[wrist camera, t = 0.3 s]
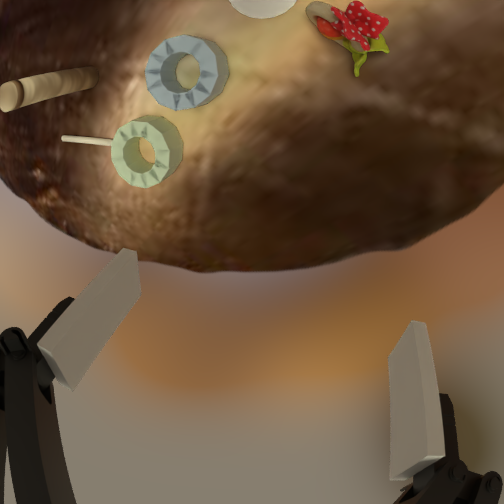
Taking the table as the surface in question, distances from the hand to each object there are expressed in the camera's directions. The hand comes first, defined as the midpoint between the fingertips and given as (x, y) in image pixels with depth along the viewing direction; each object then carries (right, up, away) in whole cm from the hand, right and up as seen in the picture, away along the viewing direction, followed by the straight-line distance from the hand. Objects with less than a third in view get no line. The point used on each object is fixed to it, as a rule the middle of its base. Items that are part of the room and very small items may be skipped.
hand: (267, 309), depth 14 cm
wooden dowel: (-24, +28, +22) cm, 43 cm away
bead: (-14, +17, +27) cm, 35 cm away
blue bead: (-8, +25, +20) cm, 33 cm away
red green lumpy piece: (+10, +26, +14) cm, 32 cm away
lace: (-25, +20, +28) cm, 43 cm away
